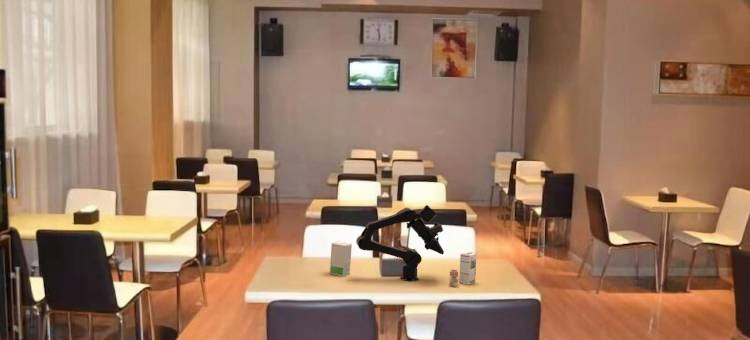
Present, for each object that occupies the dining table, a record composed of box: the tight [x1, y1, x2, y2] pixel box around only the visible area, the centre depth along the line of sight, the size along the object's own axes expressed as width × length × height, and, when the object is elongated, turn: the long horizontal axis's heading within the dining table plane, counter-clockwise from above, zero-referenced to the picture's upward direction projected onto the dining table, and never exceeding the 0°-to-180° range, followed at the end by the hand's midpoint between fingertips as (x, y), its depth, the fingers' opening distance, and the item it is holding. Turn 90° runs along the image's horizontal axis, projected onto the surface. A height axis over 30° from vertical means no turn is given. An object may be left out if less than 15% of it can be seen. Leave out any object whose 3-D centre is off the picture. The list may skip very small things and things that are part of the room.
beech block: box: [448, 275, 459, 288], centre depth 327 cm, size 4×4×4 cm
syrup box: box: [458, 251, 477, 286], centre depth 333 cm, size 6×6×14 cm
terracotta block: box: [449, 269, 459, 278], centre depth 339 cm, size 4×4×4 cm
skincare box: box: [329, 240, 353, 278], centre depth 339 cm, size 8×7×16 cm
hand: (443, 253), depth 333 cm, fingers open, 2 cm apart
